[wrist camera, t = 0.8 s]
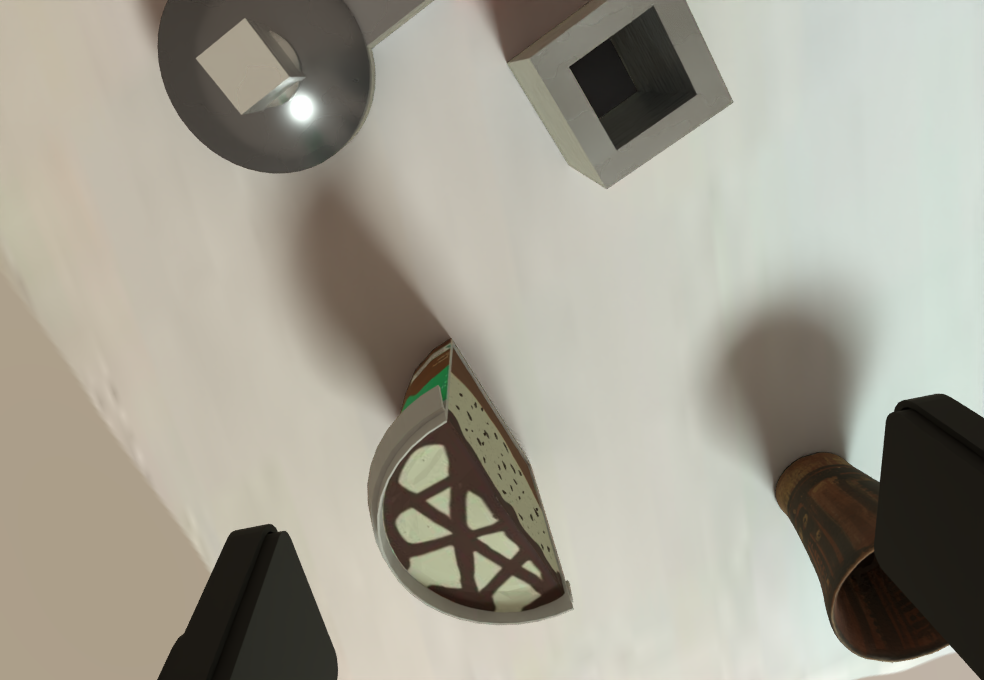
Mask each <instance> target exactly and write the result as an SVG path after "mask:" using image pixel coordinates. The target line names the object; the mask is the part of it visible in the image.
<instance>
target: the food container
mask: <svg viewBox="0 0 984 680" xmlns="http://www.w3.org/2000/svg"><path fill="white" fill-rule="evenodd" d="M367 488H368V506H369V512H370V517H371V522H372V527H373V531H374V536H375V540H376V543H377V545H378V548H379V550H380V552H381V554H382V557H383V558H384V560H385V561H386V563H387V565H388V567H389V568H390V570H391V571H392V573H393V574H394V576H395V577H396V578H397V580H398V581H399V582H400V583H401V584H402V585H403V586H404V587H405V588H406V589H407V590H408V592H409V593H410V594H412V595H413V596H414V597H416V598H417V599H419V600H420V601H421V602H423V603H424V604H425V605H427V606H429V607H431V608H433V609H435V610H437V611H439V612H441V613H443V614H446V615H449V616H451V617H454V618H457V619H460V620H465V621H469V622H474V623H479V624H491V625H517V624H524V623H531V622H538V621H541V620H545V619H548V618H552V617H556V616H559V615H561V614H564V613H566V612H569V611H571V610H574V609H573V605H572V602H573V599H572V594H571V589H570V583H569V581H568V580H567V581H565V577H564V574H563V571H562V567H561V564H560V561H559V557H558V554H557V551H556V547H555V544H554V541H553V537H552V534H551V531H550V527H549V524H548V521H547V517H546V514H545V511H544V507H543V504H542V501H541V497H540V494H539V490H538V487H537V484H536V480H535V477H534V474H533V470H532V467H531V464H530V463H529V461H528V459H527V458H526V456H525V455H524V453H523V452H522V450H521V448H520V447H519V445H518V444H517V442H516V440H515V439H514V437H513V436H512V434H511V432H510V431H509V429H508V428H507V426H506V424H505V423H504V421H503V420H502V418H501V417H500V415H499V413H498V412H497V410H496V409H495V407H494V405H493V404H492V402H491V401H490V399H489V397H488V396H487V394H486V393H485V391H484V389H483V388H482V386H481V385H480V383H479V382H478V380H477V378H476V377H475V375H474V374H473V372H472V370H471V369H470V367H469V366H468V364H467V362H466V361H465V359H464V358H463V356H462V354H461V353H460V351H459V350H458V348H457V346H456V345H455V343H454V342H453V340H452V339H451V338H450V339H449V340H447V341H446V342H444V343H443V344H441V345H440V346H438V347H436V348H435V349H433V350H432V352H431V353H430V354H429V355H428V356H427V357H426V358H425V360H424V361H423V362H422V363H421V364H420V365H419V366H418V368H417V369H416V370H415V372H414V375H413V377H412V379H411V382H410V384H409V387H408V389H407V392H406V394H405V398H404V402H403V405H402V409H401V413H400V415H399V416H398V417H397V419H396V420H395V421H394V422H393V423H392V425H391V426H390V427H389V428H388V430H387V431H386V433H385V435H384V436H383V438H382V440H381V442H380V443H379V445H378V447H377V449H376V452H375V455H374V458H373V460H372V463H371V466H370V472H369V478H368V484H367Z"/></svg>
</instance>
